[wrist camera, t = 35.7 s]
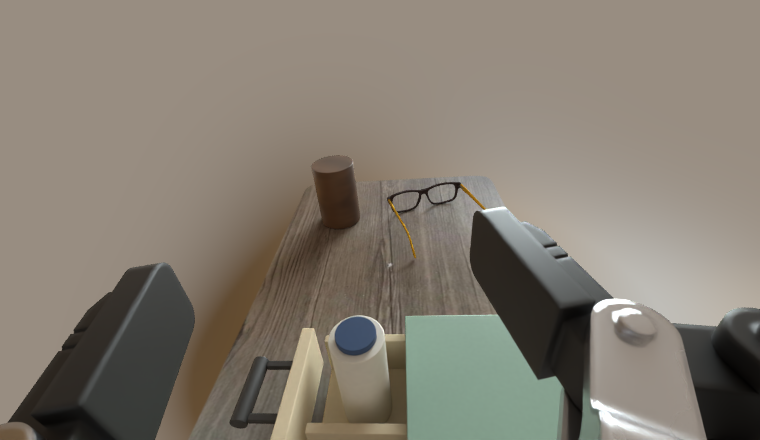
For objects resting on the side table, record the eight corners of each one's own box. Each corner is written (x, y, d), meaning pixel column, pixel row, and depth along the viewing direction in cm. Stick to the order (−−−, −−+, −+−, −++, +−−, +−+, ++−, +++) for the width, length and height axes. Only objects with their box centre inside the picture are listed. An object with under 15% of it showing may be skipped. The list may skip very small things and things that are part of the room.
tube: (350, 438, 30) (331, 365, 24) (341, 391, 33) (323, 318, 27) (398, 422, 30) (391, 348, 25) (384, 378, 34) (375, 304, 28)
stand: (344, 233, 59) (334, 176, 53) (314, 222, 62) (302, 168, 56) (367, 213, 64) (361, 159, 58) (338, 205, 67) (330, 152, 61)
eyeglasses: (456, 197, 66) (457, 178, 64) (498, 238, 54) (501, 217, 52) (386, 212, 63) (385, 194, 61) (414, 259, 52) (414, 238, 49)
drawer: (232, 472, 29) (208, 440, 26) (271, 362, 38) (256, 328, 34) (436, 477, 28) (437, 444, 24) (427, 362, 36) (427, 326, 33)
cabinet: (410, 490, 28) (407, 447, 24) (407, 362, 37) (405, 315, 33) (584, 495, 27) (613, 450, 22) (535, 362, 36) (549, 313, 32)
